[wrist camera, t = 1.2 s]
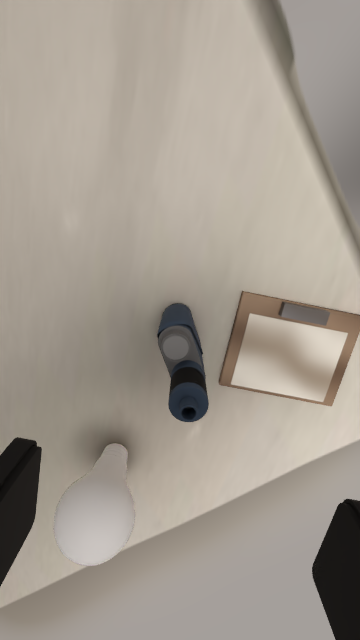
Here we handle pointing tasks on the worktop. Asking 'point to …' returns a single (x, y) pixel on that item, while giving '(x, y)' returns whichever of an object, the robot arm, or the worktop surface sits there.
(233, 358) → the clipboard
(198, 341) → the vaping device
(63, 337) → the worktop surface
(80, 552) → the lightbulb
